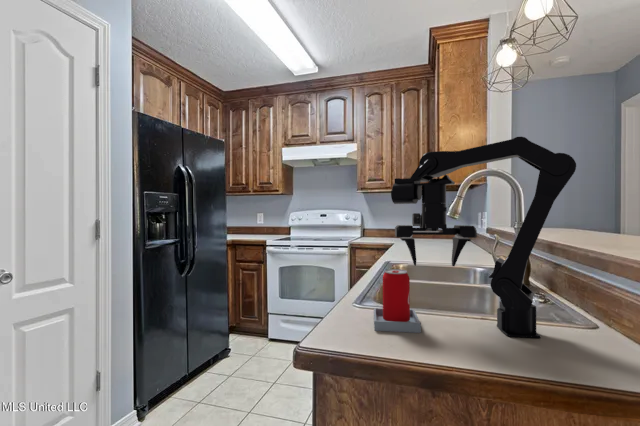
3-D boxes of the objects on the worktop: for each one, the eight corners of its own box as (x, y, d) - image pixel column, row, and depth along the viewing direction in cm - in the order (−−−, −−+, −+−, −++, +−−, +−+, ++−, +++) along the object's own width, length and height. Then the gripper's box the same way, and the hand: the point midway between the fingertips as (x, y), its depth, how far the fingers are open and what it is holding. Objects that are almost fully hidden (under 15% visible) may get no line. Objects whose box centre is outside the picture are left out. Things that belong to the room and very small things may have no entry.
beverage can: (411, 319, 79) (411, 269, 79) (407, 327, 73) (407, 274, 73) (385, 315, 81) (385, 267, 81) (380, 323, 75) (379, 272, 75)
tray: (414, 317, 81) (414, 309, 81) (420, 332, 71) (420, 323, 71) (373, 316, 83) (373, 308, 83) (374, 330, 73) (374, 321, 73)
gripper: (463, 203, 88) (463, 261, 88) (393, 204, 91) (393, 260, 91) (477, 202, 77) (477, 268, 77) (396, 203, 80) (396, 267, 80)
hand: (433, 265), depth 82 cm, fingers open, 9 cm apart
